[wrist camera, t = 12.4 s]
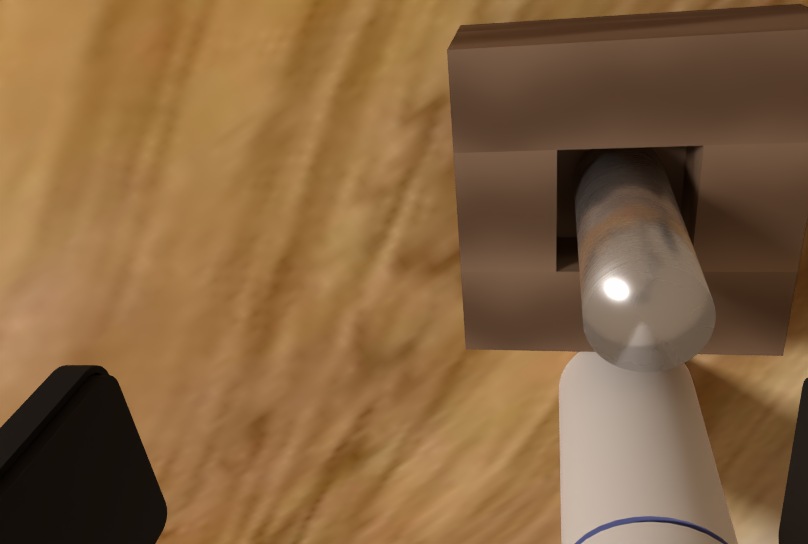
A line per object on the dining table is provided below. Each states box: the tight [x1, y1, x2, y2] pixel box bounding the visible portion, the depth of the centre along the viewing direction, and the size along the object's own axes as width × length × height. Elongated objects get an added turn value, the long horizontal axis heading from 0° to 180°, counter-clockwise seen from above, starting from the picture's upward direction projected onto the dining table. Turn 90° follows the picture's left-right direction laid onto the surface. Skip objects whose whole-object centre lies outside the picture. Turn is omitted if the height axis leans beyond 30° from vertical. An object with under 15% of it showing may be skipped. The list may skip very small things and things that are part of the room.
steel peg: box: [573, 147, 716, 372], centre depth 29 cm, size 4×4×12 cm
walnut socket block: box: [447, 4, 808, 356], centre depth 33 cm, size 14×14×5 cm
